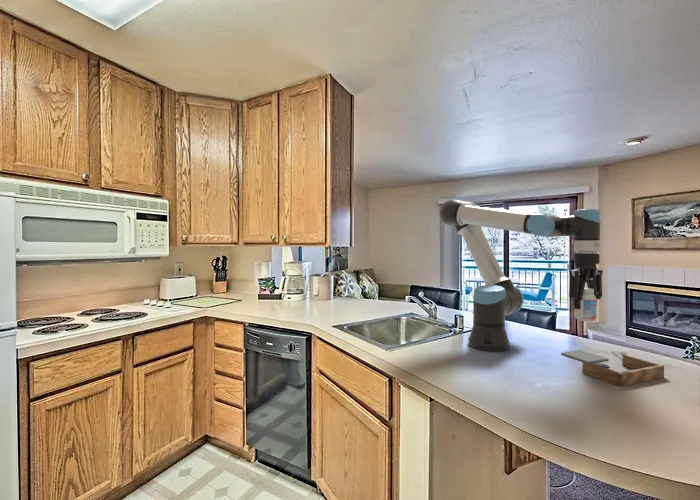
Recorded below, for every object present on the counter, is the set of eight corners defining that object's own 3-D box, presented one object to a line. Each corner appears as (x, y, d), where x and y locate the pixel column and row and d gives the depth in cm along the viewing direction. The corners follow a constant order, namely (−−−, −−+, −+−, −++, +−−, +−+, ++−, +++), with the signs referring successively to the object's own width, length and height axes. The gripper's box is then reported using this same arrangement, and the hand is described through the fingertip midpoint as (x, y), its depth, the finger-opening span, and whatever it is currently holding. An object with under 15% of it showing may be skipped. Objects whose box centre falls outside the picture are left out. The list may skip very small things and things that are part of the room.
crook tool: (625, 364, 115) (625, 361, 115) (612, 353, 127) (612, 350, 127) (640, 366, 114) (640, 362, 114) (625, 355, 125) (625, 351, 125)
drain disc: (604, 368, 111) (604, 368, 111) (591, 364, 115) (591, 363, 115) (612, 367, 112) (612, 366, 112) (599, 363, 116) (599, 362, 116)
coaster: (588, 363, 115) (588, 361, 115) (561, 354, 125) (561, 352, 125) (608, 360, 119) (608, 358, 119) (580, 351, 128) (580, 349, 128)
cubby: (620, 386, 97) (620, 374, 97) (582, 372, 107) (582, 361, 107) (663, 377, 104) (664, 365, 104) (624, 365, 114) (624, 354, 114)
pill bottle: (596, 322, 117) (597, 290, 117) (575, 320, 121) (576, 288, 120) (595, 319, 123) (595, 288, 122) (575, 317, 126) (575, 287, 125)
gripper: (577, 253, 114) (576, 321, 115) (615, 252, 121) (614, 317, 121) (557, 252, 121) (556, 317, 122) (594, 252, 128) (593, 313, 128)
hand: (585, 317), depth 122 cm, fingers closed on pill bottle, 6 cm apart
